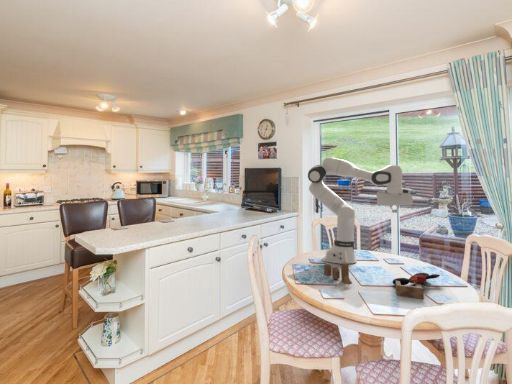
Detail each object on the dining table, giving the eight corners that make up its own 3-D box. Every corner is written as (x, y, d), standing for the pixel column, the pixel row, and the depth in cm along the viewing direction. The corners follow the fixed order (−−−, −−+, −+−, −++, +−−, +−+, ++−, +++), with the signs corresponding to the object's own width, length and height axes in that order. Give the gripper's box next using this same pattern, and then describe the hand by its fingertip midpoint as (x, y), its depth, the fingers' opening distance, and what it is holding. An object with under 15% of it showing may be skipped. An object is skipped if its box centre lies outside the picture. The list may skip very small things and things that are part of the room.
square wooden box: (397, 295, 132) (397, 285, 132) (395, 288, 142) (395, 278, 142) (423, 299, 128) (423, 288, 128) (419, 291, 138) (419, 281, 138)
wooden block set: (322, 278, 158) (321, 261, 158) (331, 274, 164) (331, 258, 163) (349, 288, 144) (348, 269, 143) (358, 283, 149) (357, 265, 148)
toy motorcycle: (391, 288, 145) (417, 283, 133) (388, 278, 147) (413, 272, 135) (421, 282, 156) (448, 277, 143) (417, 273, 158) (443, 267, 145)
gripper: (376, 190, 173) (376, 212, 173) (413, 190, 165) (413, 213, 165) (376, 190, 179) (376, 211, 179) (412, 190, 170) (412, 212, 170)
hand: (394, 212), depth 172 cm, fingers closed
